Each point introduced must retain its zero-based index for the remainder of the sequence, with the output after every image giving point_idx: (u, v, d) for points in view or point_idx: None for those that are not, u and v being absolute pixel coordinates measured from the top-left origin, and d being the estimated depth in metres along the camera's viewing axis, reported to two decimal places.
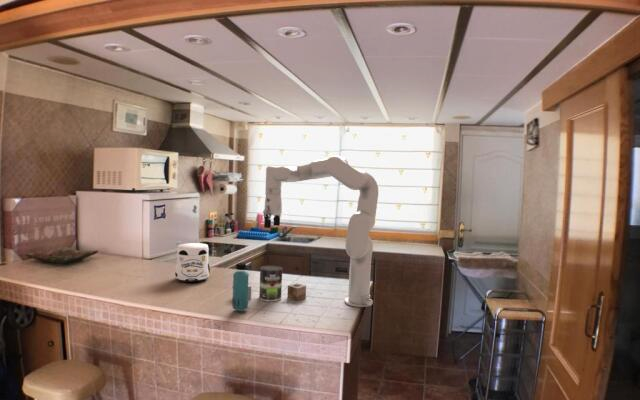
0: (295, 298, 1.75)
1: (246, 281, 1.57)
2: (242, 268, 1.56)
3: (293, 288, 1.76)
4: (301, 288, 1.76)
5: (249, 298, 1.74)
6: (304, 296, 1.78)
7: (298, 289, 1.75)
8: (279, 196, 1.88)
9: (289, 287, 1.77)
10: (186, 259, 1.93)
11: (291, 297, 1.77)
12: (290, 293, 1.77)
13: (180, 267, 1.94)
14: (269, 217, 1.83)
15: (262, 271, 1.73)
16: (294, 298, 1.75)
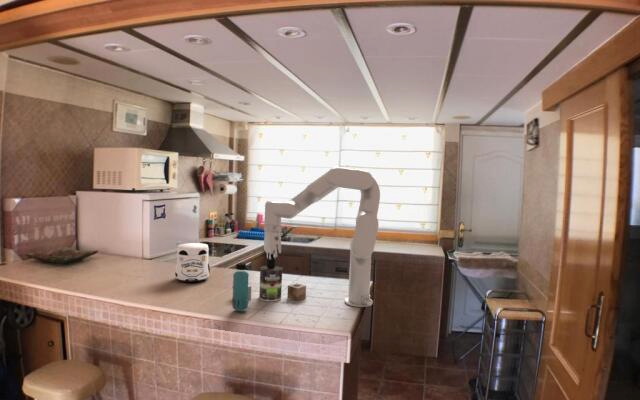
0: (295, 298, 1.75)
1: (246, 281, 1.57)
2: (242, 268, 1.56)
3: (293, 288, 1.76)
4: (301, 288, 1.76)
5: (249, 298, 1.74)
6: (304, 296, 1.78)
7: (298, 289, 1.75)
8: None
9: (289, 287, 1.77)
10: (186, 259, 1.93)
11: (291, 297, 1.77)
12: (290, 293, 1.77)
13: (180, 267, 1.94)
14: (275, 258, 1.76)
15: (262, 271, 1.73)
16: (294, 298, 1.75)
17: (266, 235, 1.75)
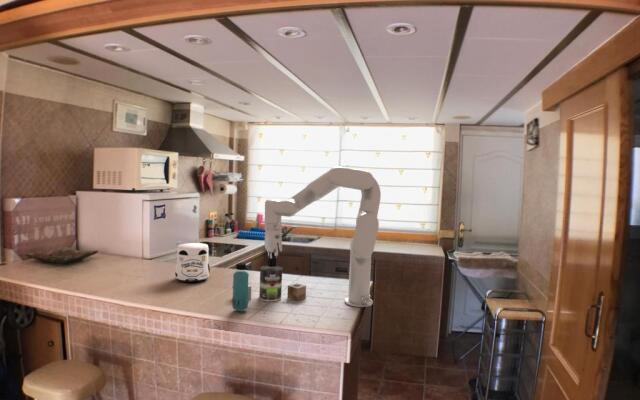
0: (295, 298, 1.75)
1: (246, 281, 1.57)
2: (242, 268, 1.56)
3: (293, 288, 1.76)
4: (301, 288, 1.76)
5: (249, 298, 1.74)
6: (304, 296, 1.78)
7: (298, 289, 1.75)
8: None
9: (289, 287, 1.77)
10: (186, 259, 1.93)
11: (291, 297, 1.77)
12: (290, 293, 1.77)
13: (180, 267, 1.94)
14: (276, 256, 1.76)
15: (262, 271, 1.73)
16: (294, 298, 1.75)
17: (267, 234, 1.75)
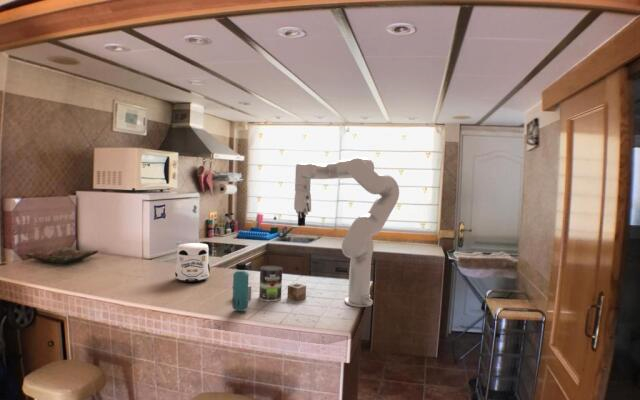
0: (295, 298, 1.75)
1: (246, 281, 1.57)
2: (242, 268, 1.56)
3: (293, 288, 1.76)
4: (301, 288, 1.76)
5: (249, 298, 1.74)
6: (304, 296, 1.78)
7: (298, 289, 1.75)
8: None
9: (289, 287, 1.77)
10: (186, 259, 1.93)
11: (291, 297, 1.77)
12: (290, 293, 1.77)
13: (180, 267, 1.94)
14: (305, 216, 1.90)
15: (262, 271, 1.73)
16: (294, 298, 1.75)
17: (297, 195, 1.90)
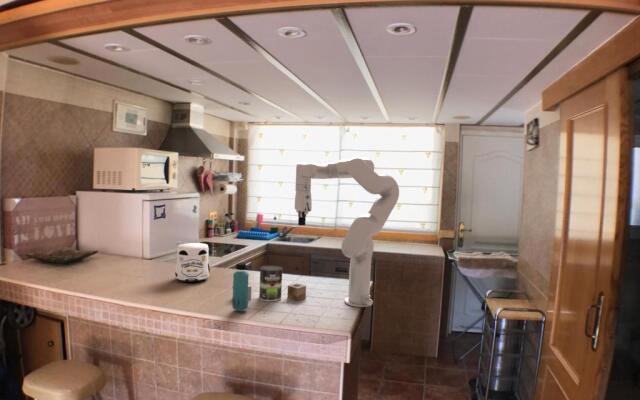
0: (295, 298, 1.75)
1: (246, 281, 1.57)
2: (242, 268, 1.56)
3: (293, 288, 1.76)
4: (301, 288, 1.76)
5: (249, 298, 1.74)
6: (304, 296, 1.78)
7: (298, 289, 1.75)
8: None
9: (289, 287, 1.77)
10: (186, 259, 1.93)
11: (291, 297, 1.77)
12: (290, 293, 1.77)
13: (180, 267, 1.94)
14: None
15: (262, 271, 1.73)
16: (294, 298, 1.75)
17: (297, 195, 1.90)
